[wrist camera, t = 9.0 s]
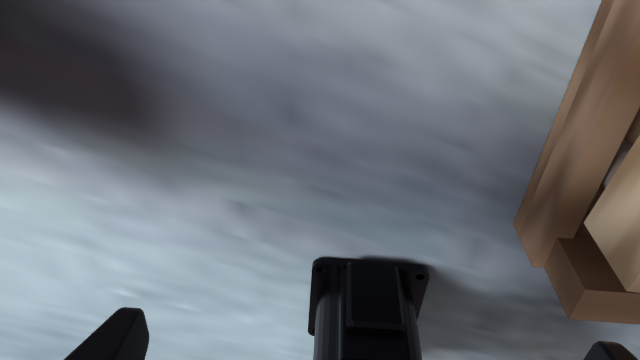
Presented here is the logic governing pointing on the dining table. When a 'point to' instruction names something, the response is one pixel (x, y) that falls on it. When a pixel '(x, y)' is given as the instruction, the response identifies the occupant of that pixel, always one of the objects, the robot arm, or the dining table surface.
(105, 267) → the dining table surface
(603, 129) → the frame
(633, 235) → the board
